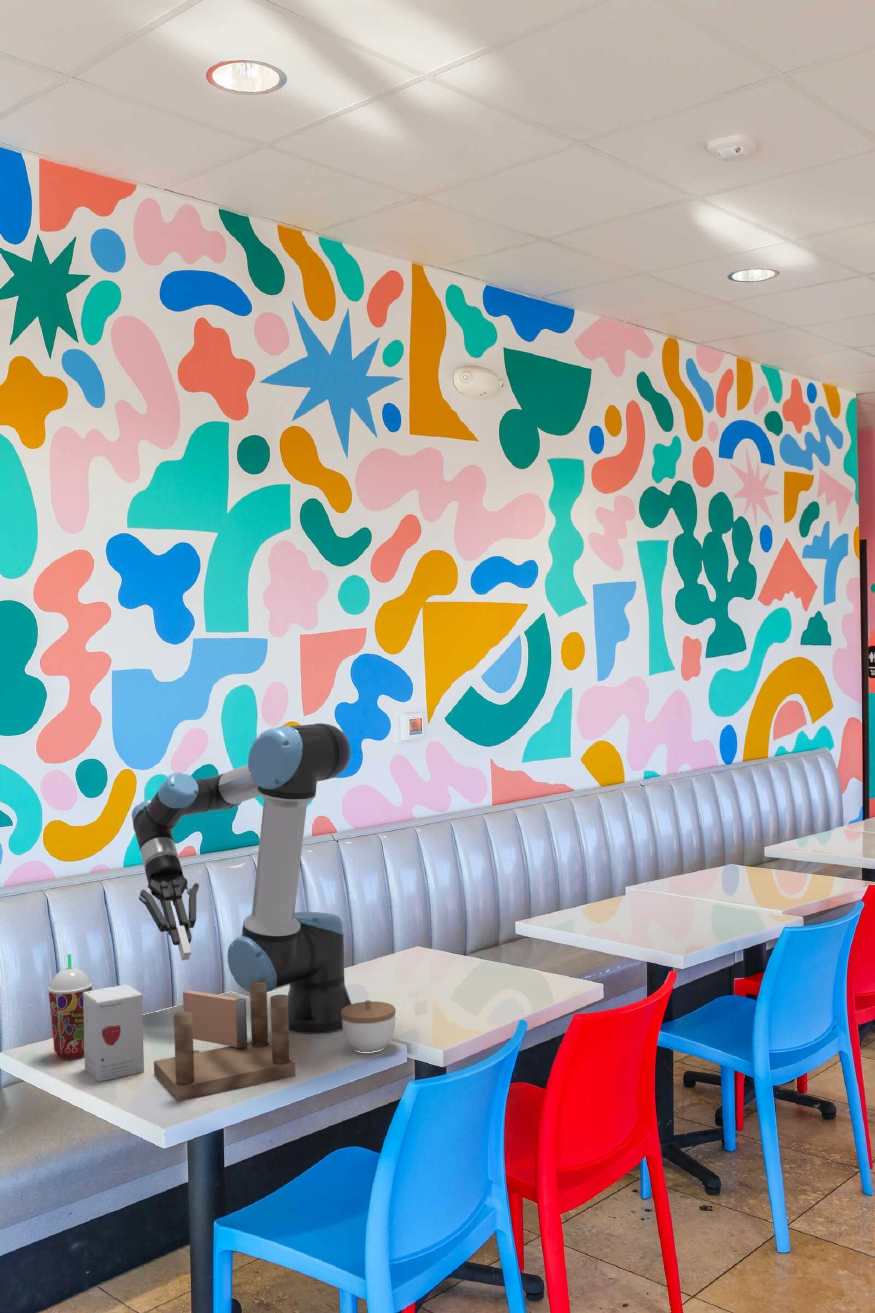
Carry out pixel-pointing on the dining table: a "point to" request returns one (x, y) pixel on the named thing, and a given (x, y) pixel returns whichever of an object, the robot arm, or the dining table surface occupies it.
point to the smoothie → (68, 1011)
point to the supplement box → (113, 1032)
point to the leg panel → (217, 1018)
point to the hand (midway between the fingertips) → (186, 956)
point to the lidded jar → (368, 1025)
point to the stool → (230, 1053)
